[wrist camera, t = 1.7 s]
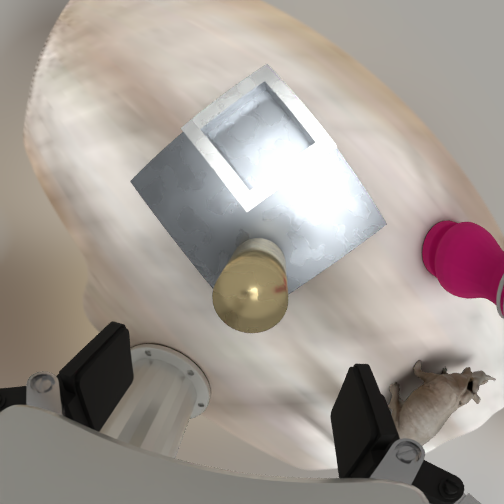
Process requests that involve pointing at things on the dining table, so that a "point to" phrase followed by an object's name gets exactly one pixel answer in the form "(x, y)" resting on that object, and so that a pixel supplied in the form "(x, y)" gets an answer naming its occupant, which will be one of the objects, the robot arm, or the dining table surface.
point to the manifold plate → (258, 183)
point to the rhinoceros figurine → (433, 401)
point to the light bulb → (252, 287)
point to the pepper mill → (466, 261)
